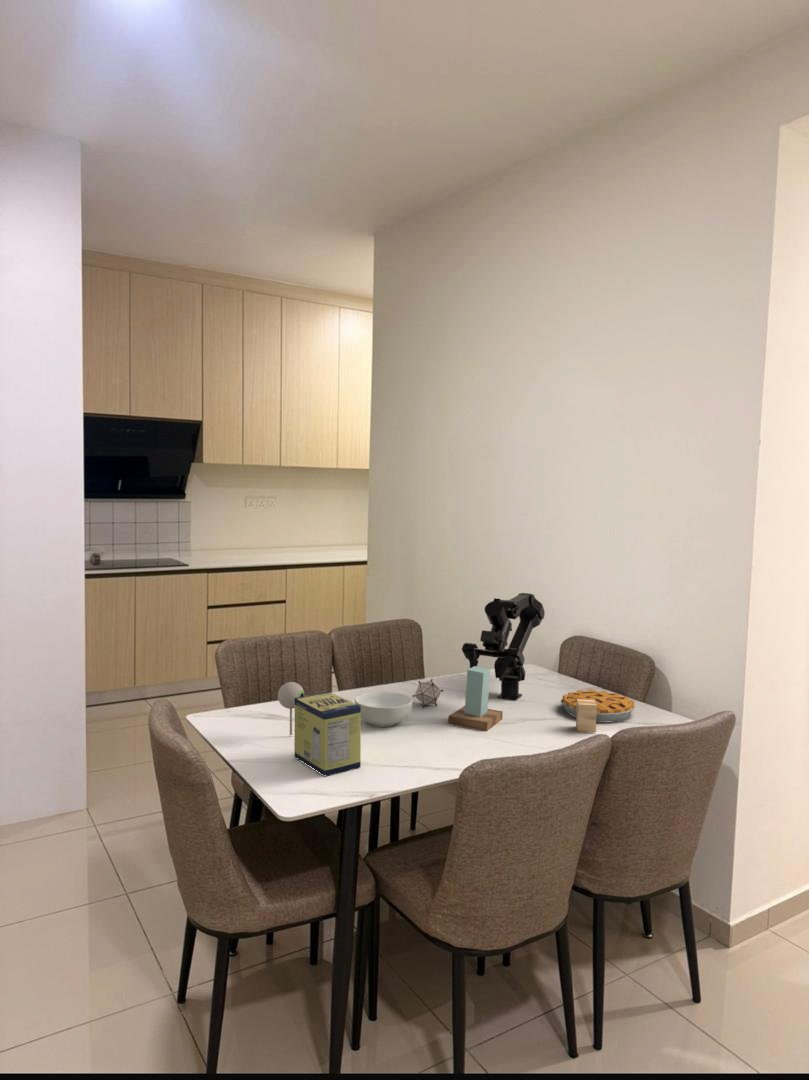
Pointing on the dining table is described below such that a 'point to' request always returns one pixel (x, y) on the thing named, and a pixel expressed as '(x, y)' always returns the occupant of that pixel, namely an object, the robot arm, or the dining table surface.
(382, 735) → the dining table surface
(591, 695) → the pie
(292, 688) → the lollipop
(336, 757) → the protein box
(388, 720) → the cereal bowl
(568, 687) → the dining table surface
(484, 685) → the teal block
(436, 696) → the wireframe polyhedron model
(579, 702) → the oak block
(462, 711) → the walnut slab
